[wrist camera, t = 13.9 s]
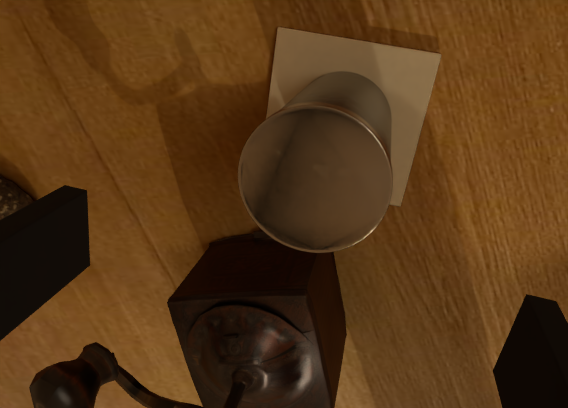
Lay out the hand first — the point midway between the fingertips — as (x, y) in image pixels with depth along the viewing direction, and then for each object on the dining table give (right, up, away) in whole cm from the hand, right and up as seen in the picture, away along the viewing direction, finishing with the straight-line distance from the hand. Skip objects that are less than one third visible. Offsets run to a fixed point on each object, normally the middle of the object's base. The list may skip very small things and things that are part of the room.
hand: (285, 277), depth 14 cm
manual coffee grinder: (-3, -5, +27) cm, 28 cm away
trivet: (+4, +8, +20) cm, 22 cm away
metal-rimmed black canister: (+4, +8, +19) cm, 21 cm away
